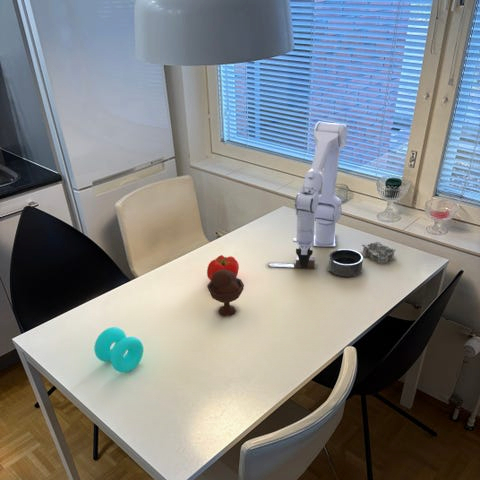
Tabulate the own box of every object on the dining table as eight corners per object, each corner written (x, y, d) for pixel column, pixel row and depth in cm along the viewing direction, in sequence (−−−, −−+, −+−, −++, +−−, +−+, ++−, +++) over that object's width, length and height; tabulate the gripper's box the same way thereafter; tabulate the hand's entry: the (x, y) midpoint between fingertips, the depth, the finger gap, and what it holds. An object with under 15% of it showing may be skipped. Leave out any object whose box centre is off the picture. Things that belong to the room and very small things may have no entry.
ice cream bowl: (244, 320, 149) (243, 278, 140) (208, 321, 150) (204, 279, 141) (245, 301, 158) (243, 260, 149) (210, 301, 158) (206, 261, 149)
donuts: (124, 347, 141) (118, 319, 135) (148, 361, 136) (142, 332, 130) (96, 365, 135) (88, 337, 129) (119, 381, 130) (112, 352, 124)
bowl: (328, 260, 176) (329, 248, 173) (360, 262, 175) (361, 249, 172) (328, 277, 167) (329, 264, 164) (362, 278, 166) (363, 265, 163)
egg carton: (359, 254, 179) (360, 244, 177) (373, 248, 183) (374, 238, 180) (382, 265, 172) (383, 255, 170) (396, 258, 175) (398, 248, 173)
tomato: (240, 273, 172) (239, 251, 166) (237, 290, 163) (236, 268, 158) (210, 273, 173) (208, 251, 168) (205, 290, 164) (203, 267, 159)
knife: (314, 265, 174) (314, 257, 172) (314, 268, 172) (314, 260, 170) (269, 263, 176) (269, 255, 174) (268, 267, 174) (268, 259, 172)
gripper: (294, 218, 171) (293, 252, 179) (292, 237, 160) (291, 273, 168) (315, 218, 170) (313, 253, 178) (314, 237, 159) (312, 274, 167)
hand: (303, 263), depth 173 cm, fingers open, 5 cm apart
